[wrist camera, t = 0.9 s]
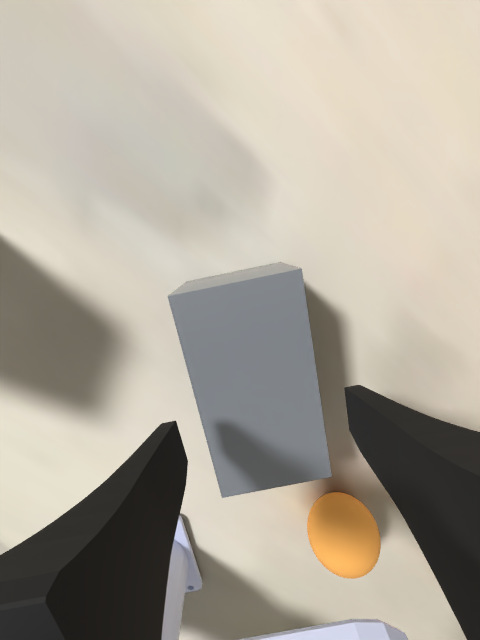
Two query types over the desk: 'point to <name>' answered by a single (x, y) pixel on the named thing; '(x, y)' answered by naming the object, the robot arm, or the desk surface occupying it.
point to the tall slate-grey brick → (254, 376)
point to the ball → (343, 535)
